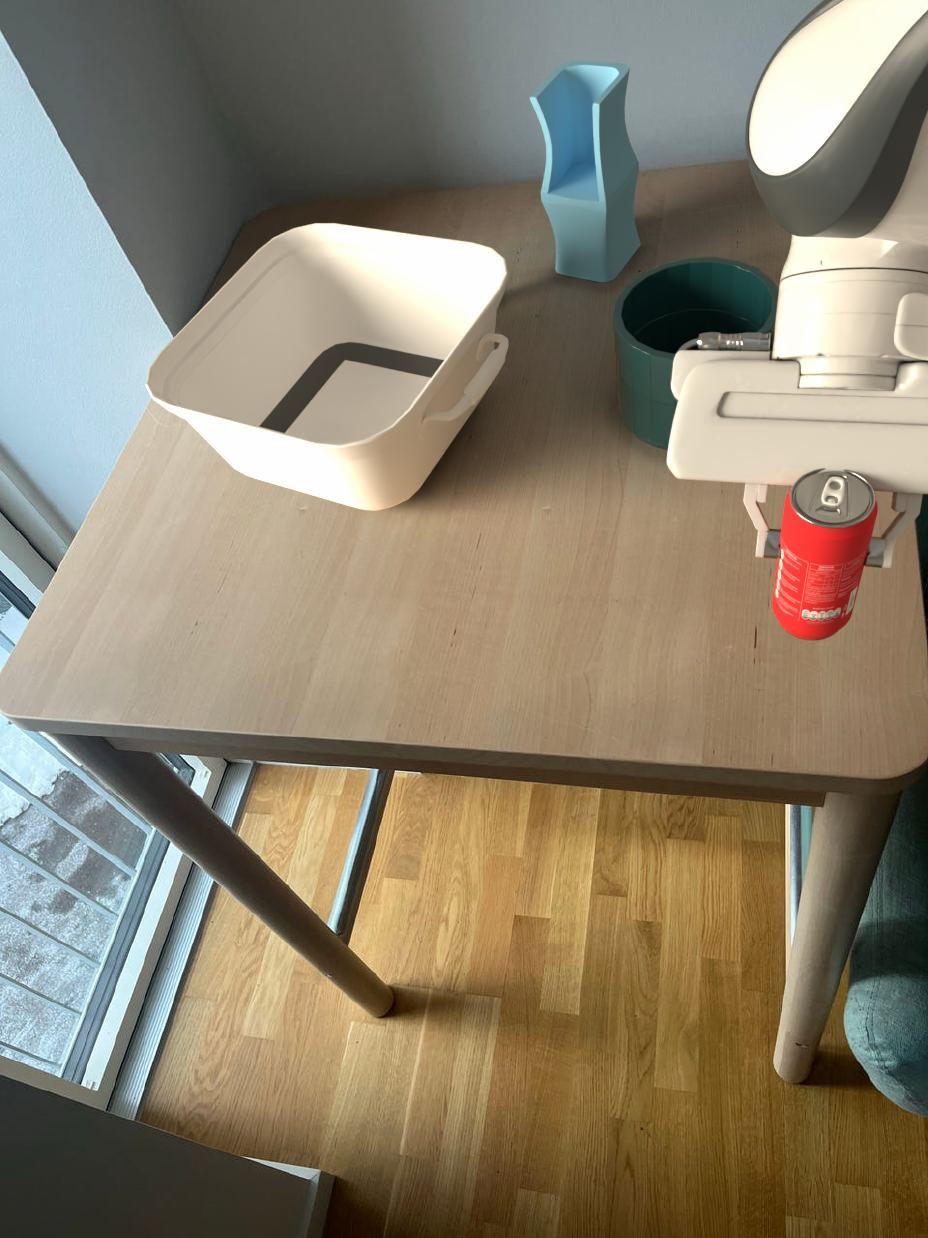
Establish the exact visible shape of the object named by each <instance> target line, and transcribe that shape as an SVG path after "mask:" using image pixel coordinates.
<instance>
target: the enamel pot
mask: <svg viewBox="0 0 928 1238" xmlns="http://www.w3.org/2000/svg"><path fill="white" fill-rule="evenodd" d="M778 294H779V287H777V285H776V283H775V281H774V280H773V279H772V278H771V277H769V275H767V274H765V273H764V271H762V270H761V269H759V268H757V267H756V266H753V265H751V264H748V263H745V262H743V261H740V260H736V259H729V258H723V257H717V256H704V257H703V256H701V257H687V258H682V259H678V260H673V261H669V262H665V263H662V264H659V265H657V266H655V267H653V268H651V269H648V270H646V271H644V272H642V273H641V274H639V275H638V276H636V277H635V278H633V280H631V281H630V282H629V283H627V284H626V285H625V286H624V288H623V289H622V291H621V292H620V293H619V295H618V296H617V298H616V299H615V301H614V306H613V312H612V317H611V318H612V331H613V333H612V334H613V346H614V348H613V349H614V361H615V362H614V363H615V377H616V392H617V393H616V394H617V404H618V409H619V414H620V418H621V420H622V421H623V423H624V425H625V426H626V428H627V429H628V430H629V432H631V433H632V434H633V435H634V436H635V437H636V438H638V439H639V440H641V441H643V442H645V443H646V444H648V445H651V446H654V447H656V448H658V449H662V450H666V451H668V445H669V439H670V433H671V428H672V424H673V419H674V415H675V411H676V407H677V403H678V402H677V401H676V400H675V398H674V397H673V394H672V392H671V387H670V382H671V371H672V362H673V358H674V356H675V354H676V352H677V351H678V350H679V348H680V347H681V346H682V345H683V344H685V343H686V342H688V341H690V340H693V339H698V338H699V334H702V333H707V332H719V333H721V334H728V335H729V334H738V333H762V332H768V333H773V331H775V321H776V312H777V303H778ZM687 350H700V349H698V345H696V346H693V347H691V348H689V349H687ZM719 351H736V350H732V349H731V350H727V349H726V350H719ZM771 357H772V351H771V349H770V360H772V359H771Z"/></svg>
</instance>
